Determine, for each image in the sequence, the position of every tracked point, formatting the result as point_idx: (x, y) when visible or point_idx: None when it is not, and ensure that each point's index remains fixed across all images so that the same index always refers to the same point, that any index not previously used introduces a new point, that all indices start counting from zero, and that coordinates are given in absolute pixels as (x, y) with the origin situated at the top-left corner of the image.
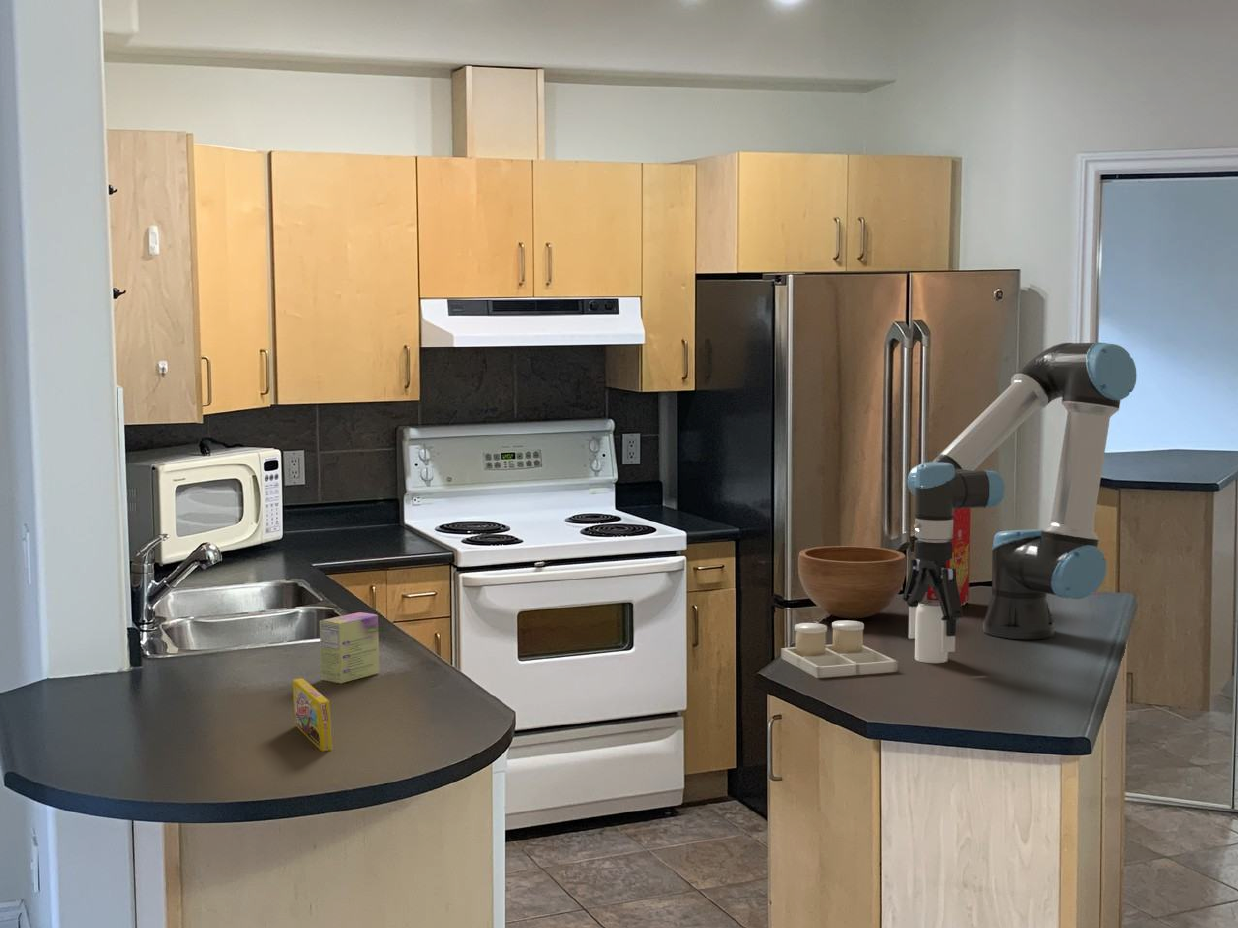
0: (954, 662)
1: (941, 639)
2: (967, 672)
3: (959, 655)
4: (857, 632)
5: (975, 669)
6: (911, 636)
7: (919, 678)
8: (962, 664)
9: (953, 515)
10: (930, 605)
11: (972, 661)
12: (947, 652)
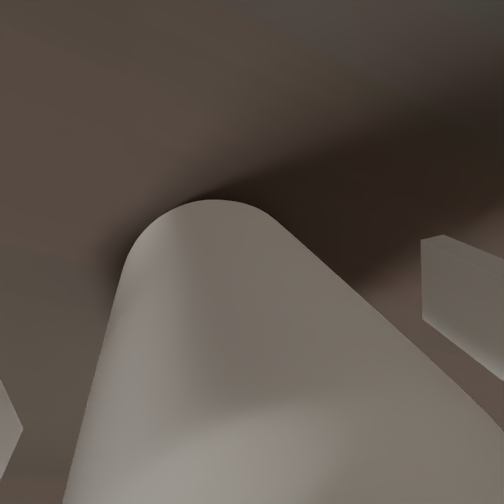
0: (256, 161)
1: (483, 360)
2: (465, 170)
3: (62, 50)
4: None
5: (425, 100)
6: (16, 432)
7: (487, 395)
8: (308, 131)
9: None
10: None
11: (245, 31)
12: (274, 220)
